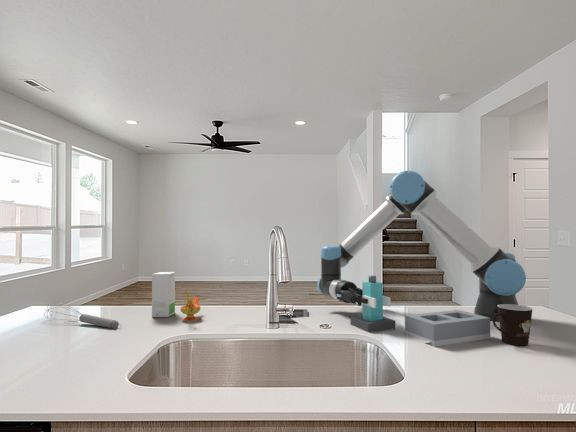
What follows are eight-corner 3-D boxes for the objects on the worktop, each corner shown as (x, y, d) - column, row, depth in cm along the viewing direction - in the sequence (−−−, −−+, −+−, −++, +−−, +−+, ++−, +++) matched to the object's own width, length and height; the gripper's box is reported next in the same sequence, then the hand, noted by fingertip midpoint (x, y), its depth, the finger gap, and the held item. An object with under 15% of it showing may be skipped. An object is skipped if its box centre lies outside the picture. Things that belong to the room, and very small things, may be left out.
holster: (376, 324, 131) (376, 314, 131) (395, 332, 121) (395, 320, 122) (350, 327, 127) (350, 316, 127) (367, 335, 118) (367, 323, 118)
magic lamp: (206, 312, 148) (207, 283, 149) (194, 324, 130) (195, 291, 131) (188, 312, 149) (189, 283, 149) (174, 324, 131) (174, 291, 131)
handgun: (272, 313, 151) (268, 324, 133) (272, 307, 151) (268, 318, 133) (307, 313, 150) (307, 325, 132) (307, 308, 150) (307, 319, 132)
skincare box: (168, 317, 140) (168, 274, 141) (150, 317, 140) (150, 274, 141) (175, 312, 149) (175, 271, 149) (158, 312, 149) (158, 271, 149)
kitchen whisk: (113, 332, 122) (114, 311, 122) (38, 322, 135) (39, 304, 135) (128, 327, 128) (128, 308, 128) (55, 318, 140) (55, 301, 140)
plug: (374, 324, 127) (374, 274, 128) (382, 327, 123) (382, 276, 123) (362, 325, 126) (362, 275, 126) (370, 329, 121) (370, 277, 122)
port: (458, 328, 126) (458, 309, 126) (490, 338, 115) (490, 317, 115) (405, 335, 118) (405, 315, 118) (433, 346, 107) (433, 324, 107)
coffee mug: (523, 339, 114) (523, 304, 115) (539, 348, 106) (538, 310, 106) (481, 337, 115) (481, 303, 116) (494, 346, 107) (493, 309, 107)
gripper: (364, 299, 144) (406, 312, 123) (322, 303, 138) (357, 317, 116) (364, 279, 145) (405, 288, 123) (322, 281, 138) (357, 292, 116)
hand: (382, 302), depth 120 cm, fingers open, 4 cm apart
